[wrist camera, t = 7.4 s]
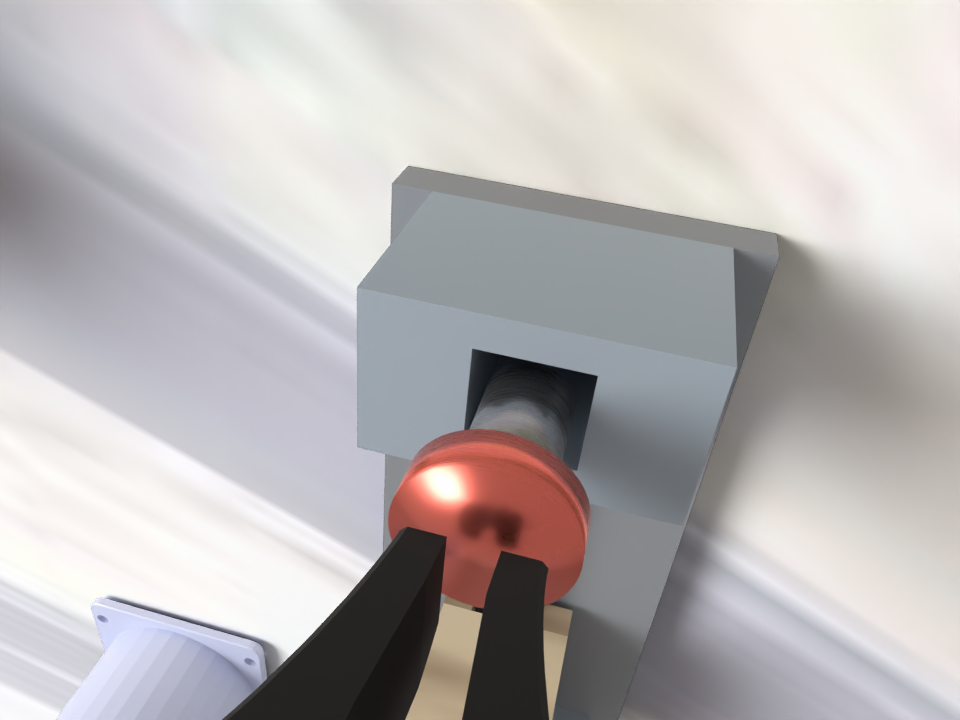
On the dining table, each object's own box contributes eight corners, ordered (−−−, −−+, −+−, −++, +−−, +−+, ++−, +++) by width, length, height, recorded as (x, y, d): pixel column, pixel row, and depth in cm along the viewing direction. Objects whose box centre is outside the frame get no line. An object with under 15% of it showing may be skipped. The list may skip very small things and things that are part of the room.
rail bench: (600, 750, 32) (577, 929, 27) (388, 688, 33) (327, 847, 28) (776, 233, 18) (798, 393, 13) (407, 165, 20) (298, 286, 15)
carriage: (550, 698, 28) (522, 844, 24) (443, 667, 29) (397, 805, 25) (572, 610, 25) (544, 760, 21) (452, 578, 26) (402, 717, 22)
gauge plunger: (596, 476, 16) (566, 631, 13) (448, 441, 17) (386, 582, 14) (626, 351, 14) (600, 496, 11) (458, 315, 15) (390, 445, 12)
